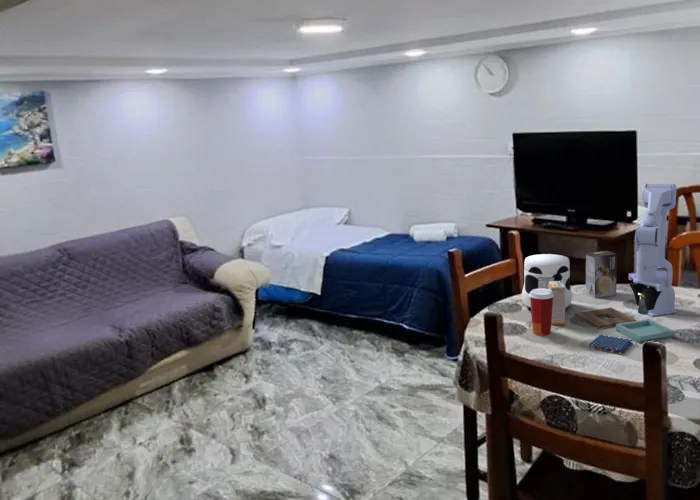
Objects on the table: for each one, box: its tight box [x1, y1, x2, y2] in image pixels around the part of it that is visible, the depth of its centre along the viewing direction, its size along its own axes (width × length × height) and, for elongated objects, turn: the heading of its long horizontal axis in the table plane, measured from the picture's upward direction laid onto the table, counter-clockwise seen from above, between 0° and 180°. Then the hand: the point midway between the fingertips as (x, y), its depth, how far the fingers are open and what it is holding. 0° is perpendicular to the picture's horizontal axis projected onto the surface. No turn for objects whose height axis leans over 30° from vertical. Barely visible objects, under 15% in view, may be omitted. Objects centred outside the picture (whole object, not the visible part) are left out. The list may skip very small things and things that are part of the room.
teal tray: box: [615, 318, 675, 344], centre depth 205 cm, size 12×12×2 cm
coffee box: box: [585, 250, 618, 299], centre depth 244 cm, size 9×6×16 cm
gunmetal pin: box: [637, 290, 649, 315], centre depth 203 cm, size 4×4×7 cm
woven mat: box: [587, 334, 634, 355], centre depth 198 cm, size 10×11×2 cm
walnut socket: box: [574, 307, 637, 330], centre depth 220 cm, size 14×14×1 cm
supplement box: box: [549, 281, 566, 325], centre depth 221 cm, size 8×5×13 cm, turn 168°
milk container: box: [521, 253, 573, 310], centre depth 234 cm, size 17×17×18 cm
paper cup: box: [529, 289, 554, 336], centre depth 211 cm, size 8×8×14 cm
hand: (645, 307), depth 203 cm, fingers closed on gunmetal pin, 4 cm apart
